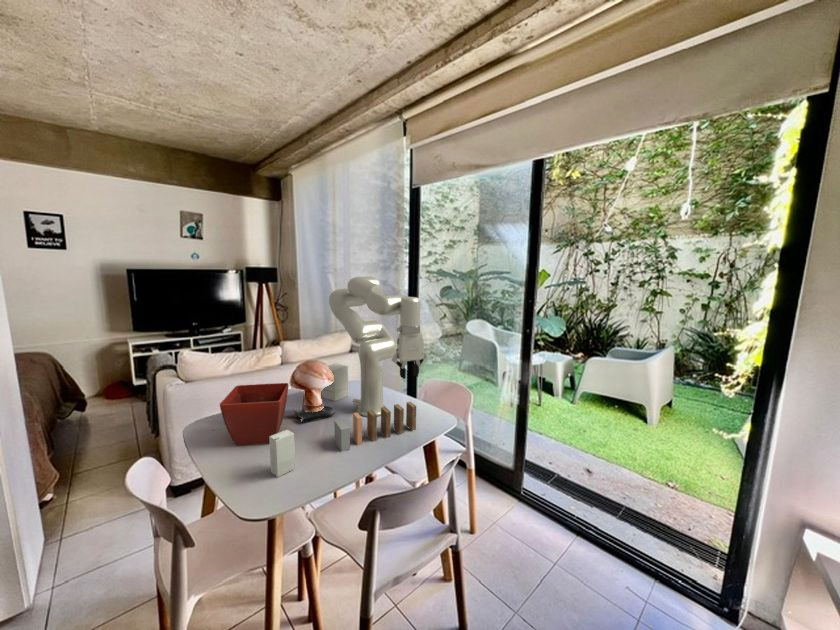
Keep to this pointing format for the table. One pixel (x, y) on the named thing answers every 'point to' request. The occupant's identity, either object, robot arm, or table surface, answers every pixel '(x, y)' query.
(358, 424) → the domino end
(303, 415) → the electronic device
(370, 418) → the domino
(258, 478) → the table surface
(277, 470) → the skincare box
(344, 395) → the supplement box
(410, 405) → the domino
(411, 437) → the table surface
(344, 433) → the block
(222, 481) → the table surface
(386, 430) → the domino
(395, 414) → the domino
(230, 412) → the plant pot
